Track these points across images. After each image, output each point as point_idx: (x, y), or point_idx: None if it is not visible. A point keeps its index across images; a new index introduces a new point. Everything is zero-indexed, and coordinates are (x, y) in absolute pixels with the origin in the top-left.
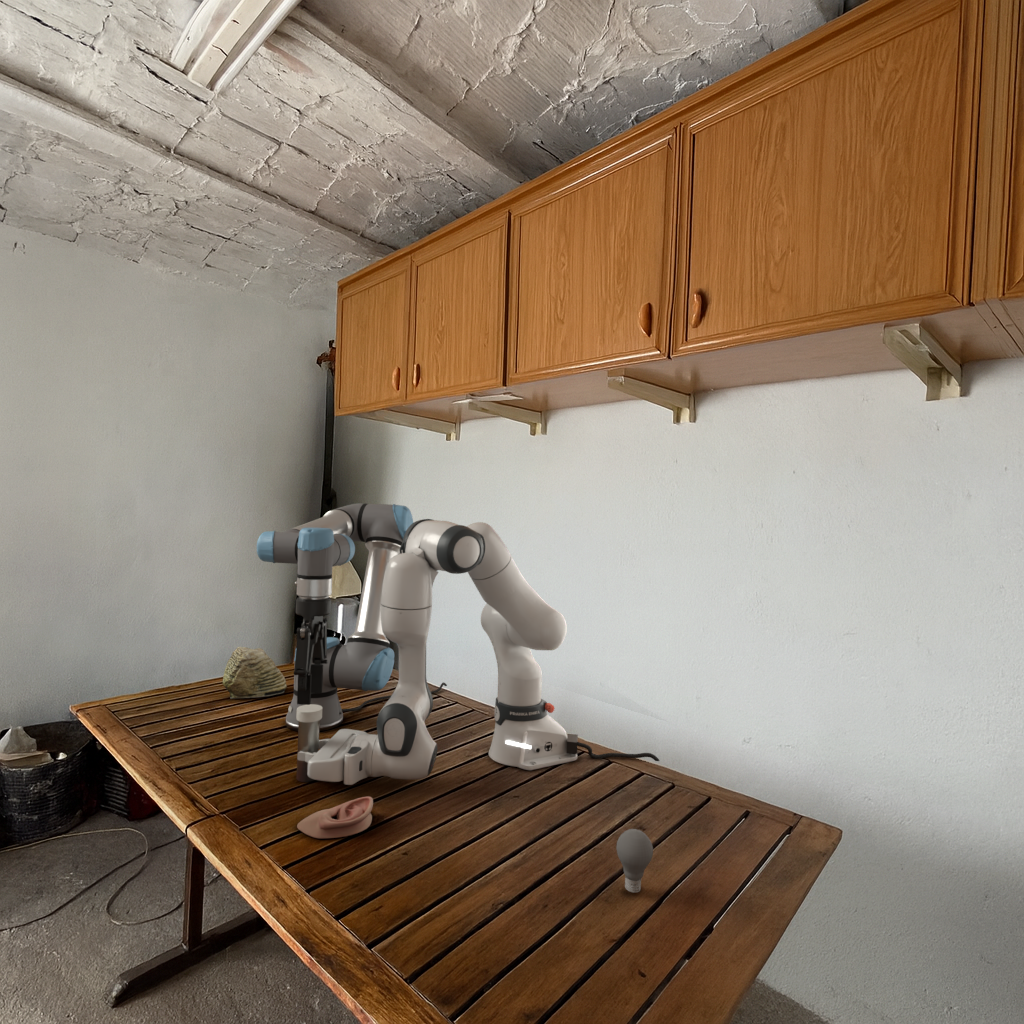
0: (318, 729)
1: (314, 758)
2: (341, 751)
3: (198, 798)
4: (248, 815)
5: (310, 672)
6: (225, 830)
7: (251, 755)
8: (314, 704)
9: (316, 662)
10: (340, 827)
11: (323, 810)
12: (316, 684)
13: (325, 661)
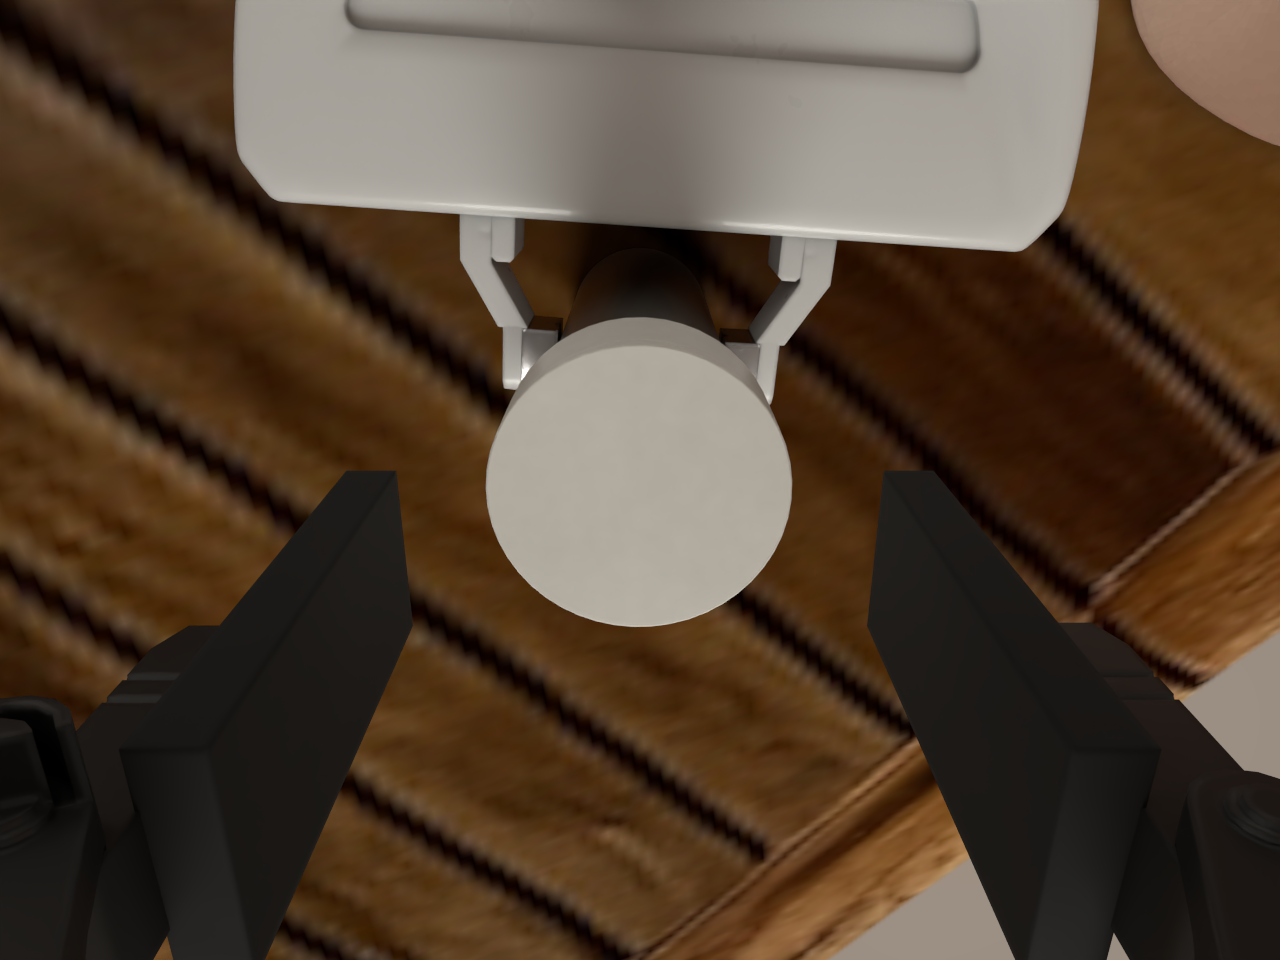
0: (648, 317)
1: (993, 210)
2: (793, 12)
3: (924, 757)
4: (1123, 468)
5: (317, 840)
6: (1271, 513)
7: (386, 728)
8: (491, 483)
9: (133, 929)
10: None
11: (1251, 7)
12: (370, 605)
13: (10, 765)
